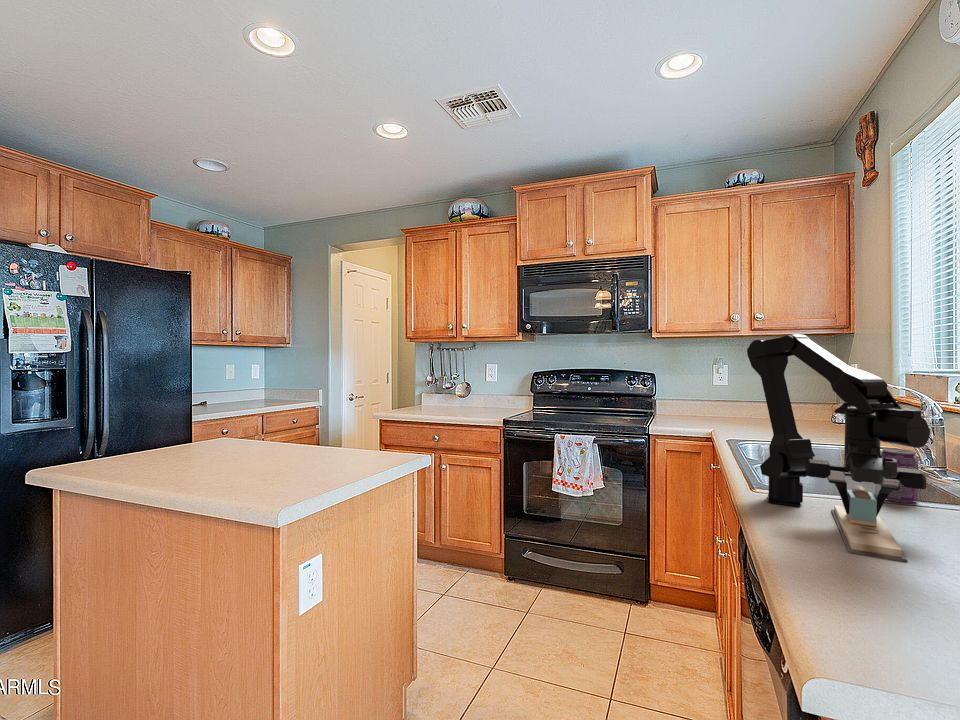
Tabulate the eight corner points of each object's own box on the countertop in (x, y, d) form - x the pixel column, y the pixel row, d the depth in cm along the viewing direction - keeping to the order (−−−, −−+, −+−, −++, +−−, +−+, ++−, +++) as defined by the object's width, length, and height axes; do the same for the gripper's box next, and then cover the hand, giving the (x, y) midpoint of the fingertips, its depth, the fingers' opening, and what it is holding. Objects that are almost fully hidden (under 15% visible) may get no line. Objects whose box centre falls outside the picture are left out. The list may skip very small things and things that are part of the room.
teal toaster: (850, 522, 97) (851, 491, 97) (846, 513, 103) (846, 483, 103) (876, 526, 95) (877, 494, 95) (870, 516, 101) (870, 486, 101)
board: (848, 552, 87) (848, 543, 87) (831, 510, 110) (831, 503, 110) (907, 562, 83) (907, 552, 83) (876, 516, 106) (876, 509, 106)
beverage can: (902, 496, 122) (903, 448, 122) (925, 505, 115) (926, 453, 115) (872, 495, 123) (872, 447, 122) (893, 504, 116) (893, 453, 115)
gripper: (809, 440, 97) (808, 518, 97) (935, 450, 87) (933, 537, 87) (805, 432, 106) (804, 504, 106) (919, 440, 97) (917, 519, 97)
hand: (860, 515), depth 99 cm, fingers closed on teal toaster, 4 cm apart
